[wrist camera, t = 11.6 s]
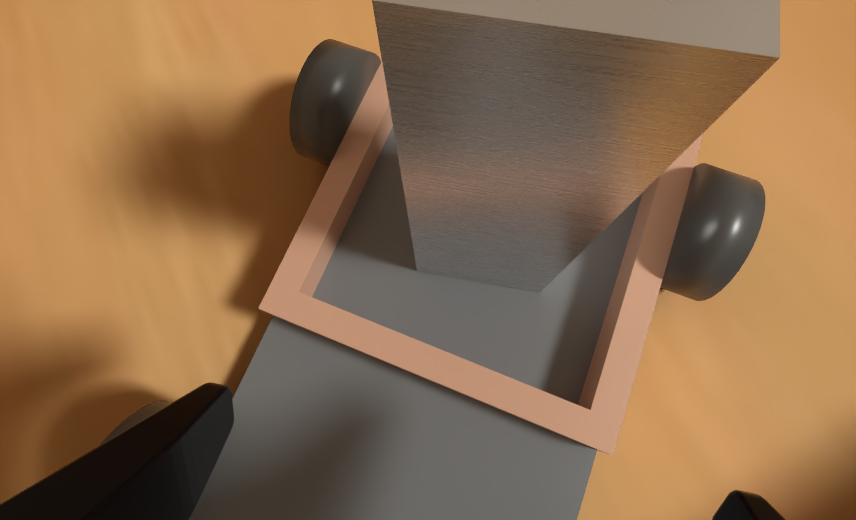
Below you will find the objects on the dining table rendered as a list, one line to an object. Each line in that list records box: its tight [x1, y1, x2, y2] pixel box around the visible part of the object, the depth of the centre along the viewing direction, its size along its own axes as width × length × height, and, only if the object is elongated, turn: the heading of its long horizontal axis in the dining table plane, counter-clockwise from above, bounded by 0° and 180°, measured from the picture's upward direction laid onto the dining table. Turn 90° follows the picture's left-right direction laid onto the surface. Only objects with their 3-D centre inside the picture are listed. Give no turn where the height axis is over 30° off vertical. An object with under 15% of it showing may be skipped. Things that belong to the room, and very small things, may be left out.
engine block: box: [372, 0, 780, 293], centre depth 12 cm, size 4×4×12 cm
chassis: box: [101, 39, 765, 520], centre depth 16 cm, size 22×15×4 cm
